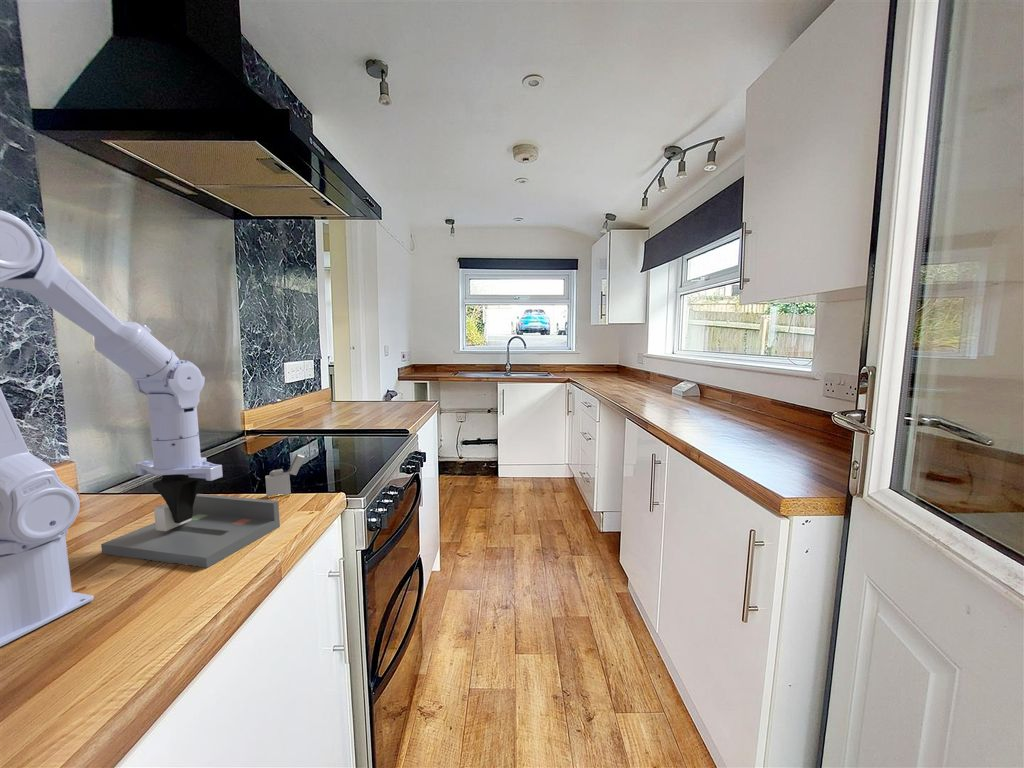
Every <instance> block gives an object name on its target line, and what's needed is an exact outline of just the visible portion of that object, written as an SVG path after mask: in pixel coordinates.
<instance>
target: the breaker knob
mask: <svg viewBox="0 0 1024 768" xmlns="http://www.w3.org/2000/svg"><path fill="white" fill-rule="evenodd" d="M153 512H154V513H153V514H154V523H155V526H156V530H160V531H168V530H170V529H172V528H175V527H177V526H179V525H182V524H184V523H186V522H189V521H191V519H188V520H186V521H184V522H181V523H175V522H174V520H173V517H172V513H171V511H170V509H169V507H168V505H167V503H166V502H165V503H162V504H160V505H158V506H155V507H153Z"/></svg>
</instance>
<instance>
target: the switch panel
mask: <svg viewBox="0 0 1024 768" xmlns="http://www.w3.org/2000/svg"><path fill="white" fill-rule="evenodd" d="M280 523H281V521H280V507H279V500H270V499H262V498H252V497H251V498H249V497H237V496H228V495H219V494H218V495H216V494H215V495H214V494H204V493H197V495H196V497H195V501H194V505H193V515H192V518H191V521H189V522H186V523H184V524H182V525H179V526H177V527H175V528H172V529H170V530H168V531H160V530H156V526H155V522H153V523H151V524H148V525H146V526H143V527H140V528H139V529H136V530H133V531H131V532H128V533H125V534H123V535H120V536H118V537H115V538H113V539H111V540H108V541H106V542H103V543H101V544H100V546H101V554H102V555H108V556H109V555H110V556H115V557H124V558H129V559H130V558H131V559H137V558H140V559H139V560H144V559H147V560H146V561H151V560H152V561H153V562H159V561H161V562H160V563H166V562H170V563H169V564H173V563H178V564H177V565H181V564H187V565H186V566H188V565H194V566H193V567H196V566H198V567H197V568H204V569H208V568H209V567H211V566H213V565H215V564H216V563H219V562H220V561H222V560H224V559H225V558H227V557H229V556H231V555H232V554H234V553H236V552H238V551H239V550H241V549H243V548H245V547H247V546H249V545H250V544H252V543H253V542H255V541H257V540H259V539H260V538H262V537H264V536H266V535H268V534H270V533H271V532H273V531H274V530H276V529H278V528H280V527H281V525H280ZM152 561H151V562H152Z"/></svg>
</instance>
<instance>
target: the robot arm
mask: <svg viewBox="0 0 1024 768" xmlns="http://www.w3.org/2000/svg"><path fill="white" fill-rule="evenodd" d="M0 287H1V288H6V289H13V290H16V291H17V290H18V291H22V292H23V291H24V292H27V293H28V294H30V295H32V296H34V297H35V298H36V299H38V300H39V301H41V302H42V303H44V304H45V305H47V306H48V307H50V309H53V310H54V311H55V312H57V313H58V314H60V315H61V316H62V317H65V318H66V319H68V320H69V321H71V322H72V323H74V325H77V326H78V327H80V328H81V329H82V330H84V331H85V332H87V333H88V334H89V335H91V336H93V337H94V340H93V341H94V342H93V343H94V345H93V346H94V349H95V350H96V351H97V352H98V353H100V354H101V356H103V357H104V358H105V359H106V358H107V360H108V361H110V362H112V363H113V364H114V365H115V366H117V367H118V368H120V369H121V370H123V371H124V372H125V373H126V374H128V375H129V377H131V378H132V381H133V385H134V387H135V389H136V390H137V392H138V393H141V394H143V395H145V396H146V397H147V409H148V417H149V419H148V420H149V429H150V439H151V440H150V441H151V450H152V459H148V460H144V461H140V462H136V463H135V470H136V472H135V473H136V475H137V476H145V475H153V476H154V475H155V476H162V477H161V480H157V481H154V482H153V483H152V487H153V489H154V490H155V491H157V492H158V493H159V495H160V496H161V497H162V498H163V499H164V501H165V504H166V503H167V505H168V507H169V509H170V511H171V513H172V517H173V520H174V522H175V523H181V522H184V521H186V520H188V519H191V518H192V515H193V505H194V501H195V497H196V495H197V494H198V492H199V490H200V488H201V486H202V484H203V482H204V481H209V482H213V481H215V480H217V479H220V478H223V475H224V474H223V465H222V464H218V463H217V464H216V463H212V462H209V461H207V457H203V456H202V455H201V444H200V443H201V442H200V430H199V416H198V406H199V403H200V402H201V401H200V400H201V399H200V394H201V392H202V390H203V389H204V385H205V384H206V383H205V381H206V380H205V379H206V377H205V376H204V375H203V374H202V372H201V369H199V367H198V366H197V365H196V364H194V363H193V362H191V361H190V360H185V359H180V358H179V356H177V355H176V352H175V351H173V350H172V348H171V349H170V348H167V347H166V346H165V345H164V344H163V343H162V342H160V340H158V339H157V338H156V337H154V336H153V335H152V329H151V328H149V327H148V326H147V325H146V324H140V323H138V322H135V321H129V320H128V321H124V320H120V318H119V317H117V315H115V314H114V313H113V312H112V311H111V309H109V308H108V307H107V306H106V305H105V304H104V303H103V302H102V301H101V300H100V299H99V298H98V297H96V296H95V295H94V294H93V293H92V291H90V289H88V288H87V287H86V286H85V285H84V284H83V283H82V282H80V281H79V279H78V278H76V277H75V276H74V275H73V274H72V273H71V272H70V271H69V270H68V269H67V268H66V267H65V266H64V265H63V264H62V263H61V262H60V260H59V258H58V256H57V254H56V251H55V249H54V247H53V245H52V244H51V243H49V242H48V241H46V240H45V239H44V238H42V237H41V236H37V234H36V233H35V231H34V230H33V229H32V228H31V227H30V225H28V224H27V223H26V222H25V221H23V220H22V219H20V218H19V217H18V216H15V214H12V213H10V212H7V211H5V210H1V209H0ZM27 446H28V445H27V444H26V441H25V439H24V437H23V435H22V432H21V431H20V428H19V426H18V423H17V422H16V419H15V417H14V414H13V413H12V411H11V408H10V406H9V404H8V401H7V400H6V397H5V395H4V393H3V390H2V388H1V387H0V648H1V647H2V646H5V645H7V644H9V643H11V642H12V641H15V640H16V639H19V638H21V637H22V636H24V635H27V634H28V633H30V632H32V631H34V630H37V629H38V628H40V627H43V626H45V625H46V624H48V623H50V622H53V621H54V620H56V619H59V618H60V617H62V616H65V615H66V614H68V613H71V612H72V611H74V610H76V609H78V608H80V607H82V606H84V605H86V604H88V603H91V602H92V601H93V600H94V599H95V596H94V595H92V594H86V593H80V592H74V591H73V589H72V581H71V571H70V563H69V557H68V556H69V555H68V546H67V539H66V538H67V537H66V536H67V535H68V534H69V533H68V532H69V531H68V530H69V528H70V527H71V526H72V525H73V524H74V522H75V521H76V519H77V517H78V515H79V512H80V509H81V501H80V497H79V495H78V494H77V492H76V491H75V490H74V489H73V488H72V487H71V486H68V485H67V484H65V483H64V482H63V481H62V480H61V479H60V477H59V476H58V473H57V471H56V469H55V468H53V467H52V466H51V465H49V464H48V463H46V462H44V461H43V460H42V459H40V458H38V457H37V456H35V455H34V454H33V453H31V452H30V451H29V449H28V447H27Z"/></svg>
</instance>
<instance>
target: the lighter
mask: <svg viewBox="0 0 1024 768" xmlns="http://www.w3.org/2000/svg"><path fill="white" fill-rule="evenodd" d="M304 460H305V455H304V454H301V453H297V452H296V453H295V456H294V459H293V460H292V463H291V465H290V467H289V469H288V471H287V472H284V470H283V468H280V469H273V470H271V471H270V472H269V475H265V477H264V478H265V488H266V492H265V493H266V498H267V497H269V496H272V495H278V494H289V493H292V492H291V491H292V490H291V480H290V479H291V477H290V475H293V476H297V474H298V472H299V470H300V468H301V467H302V466H301V465H302V463H303V461H304ZM289 495H290V494H289Z"/></svg>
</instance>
